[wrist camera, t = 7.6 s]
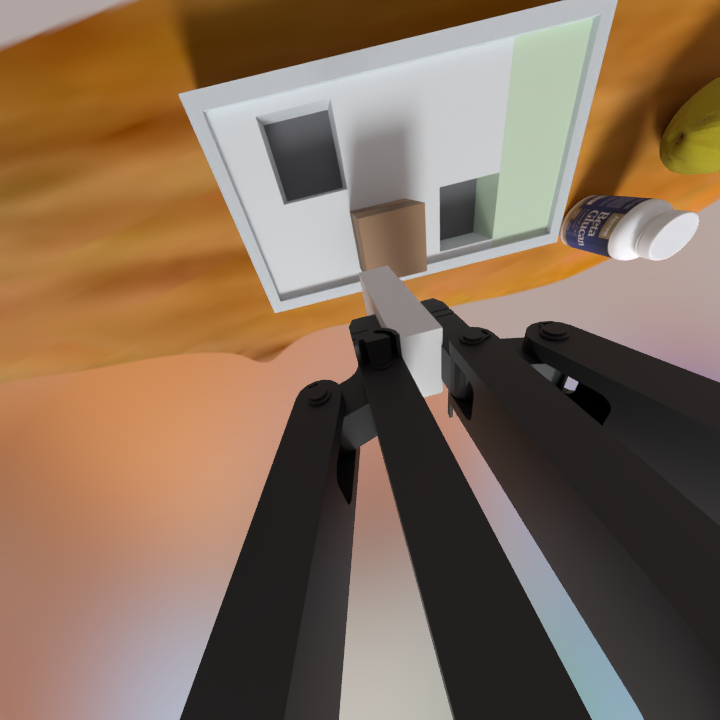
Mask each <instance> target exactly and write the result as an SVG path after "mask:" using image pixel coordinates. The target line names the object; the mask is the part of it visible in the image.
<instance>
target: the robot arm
mask: <svg viewBox="0 0 720 720" xmlns="http://www.w3.org/2000/svg"><path fill="white" fill-rule="evenodd" d="M359 277H360V282H361V287H362V292H363V297H364V302H365V307H366V312H367V316H366V317H362V318H358V319H354V320H352V321H351V324H350V326H349V329H350V333H351V337H352V341H353V345H354V348H355V353H356V357H357V360H358V368H357V371H356V372H355V374H354V375H353V376H352V377H350V378H349V379H348V380H346V381H344V382H342V383H341V384H339V385H338V383H336V382H334V381H331V380H320V381H316V382H314V383H311V384H309V385H307V386H306V387H305V388H304V389H302V390H301V391H300V393H299V395H298V396H297V398H296V401H295V403H294V406H293V409H292V411H291V414H290V417H289V420H288V422H287V425H286V428H285V431H284V434H283V436H282V439H281V442H280V445H279V448H278V450H277V453H276V456H275V458H274V461H273V464H272V467H271V470H270V472H269V475H268V478H267V480H266V483H265V486H264V489H263V491H262V494H261V497H260V500H259V502H258V505H257V508H256V511H255V513H254V517H253V519H252V522H251V525H250V527H249V530H248V533H247V536H246V539H245V541H244V544H243V547H242V549H241V552H240V555H239V558H238V560H237V564H236V566H235V569H234V571H233V574H232V577H231V580H230V582H229V585H228V588H227V591H226V594H225V597H224V599H223V602H222V605H221V607H220V610H219V613H218V616H217V618H216V621H215V624H214V627H213V630H212V632H211V635H210V638H209V640H208V643H207V646H206V649H205V652H204V654H203V657H202V660H201V663H200V665H199V668H198V671H197V674H196V676H195V679H194V682H193V685H192V688H191V690H190V693H189V696H188V698H187V701H186V704H185V707H184V710H183V712H182V715H181V718H180V720H339V710H340V698H341V684H342V672H343V659H344V647H345V634H346V622H347V608H348V596H349V584H350V571H351V559H352V546H353V533H354V521H355V507H356V495H357V482H358V469H359V457H360V446H362V445H363V444H365V443H366V442H368V441H370V440H371V439H373V438H374V437H376V436H378V440H379V444H380V447H381V451H382V455H383V459H384V462H385V466H386V470H387V473H388V477H389V481H390V485H391V488H392V492H393V496H394V500H395V503H396V507H397V511H398V515H399V518H400V522H401V526H402V530H403V533H404V537H405V541H406V545H407V548H408V552H409V556H410V560H411V563H412V567H413V571H414V574H415V578H416V582H417V586H418V589H419V593H420V597H421V601H422V604H423V608H424V612H425V616H426V619H427V623H428V627H429V631H430V634H431V637H432V641H433V645H434V649H435V653H436V656H437V660H438V664H439V668H440V672H441V675H442V679H443V683H444V687H445V690H446V694H447V698H448V702H449V705H450V709H451V712H452V716H453V720H592V719H591V717H590V715H589V713H588V711H587V710H586V707H585V706H584V704H583V702H582V700H581V698H580V696H579V694H578V692H577V690H576V688H575V687H574V684H573V683H572V681H571V679H570V677H569V675H568V673H567V671H566V669H565V667H564V665H563V663H562V662H561V660H560V658H559V656H558V654H557V652H556V650H555V648H554V646H553V644H552V642H551V641H550V639H549V637H548V635H547V633H546V631H545V629H544V627H543V625H542V623H541V622H540V619H539V618H538V616H537V614H536V612H535V610H534V608H533V606H532V604H531V602H530V600H529V598H528V597H527V595H526V593H525V591H524V589H523V587H522V585H521V583H520V582H519V579H518V577H517V575H516V574H515V572H514V570H513V568H512V566H511V564H510V562H509V560H508V559H507V557H506V554H505V553H504V551H503V549H502V547H501V545H500V543H499V541H498V539H497V537H496V535H495V533H494V532H493V530H492V528H491V526H490V524H489V522H488V520H487V518H486V516H485V514H484V512H483V510H482V509H481V507H480V505H479V503H478V501H477V499H476V497H475V495H474V493H473V491H472V489H471V488H470V486H469V484H468V482H467V480H466V478H465V476H464V474H463V472H462V471H461V468H460V467H459V465H458V463H457V461H456V459H455V457H454V455H453V453H452V451H451V449H450V447H449V445H448V444H447V442H446V440H445V438H444V436H443V434H442V432H441V431H440V428H439V426H438V425H437V423H436V421H435V419H434V417H433V415H432V413H431V411H430V409H429V407H428V406H427V404H426V402H425V400H424V398H423V397H426V396H430V395H434V394H438V393H442V392H443V391H442V390H443V386H442V385H443V382H444V383H445V385H446V387H447V388H448V414H449V417H452V416H453V409H454V411H455V412H456V414H457V416H458V417H459V418H460V420H461V422H462V424H463V425H464V427H465V428H466V430H467V432H468V433H469V435H470V437H471V438H472V440H473V441H474V443H475V445H476V446H477V448H478V449H479V451H480V453H481V454H482V456H483V458H484V459H485V461H486V462H487V464H488V466H489V467H490V469H491V470H492V472H493V474H494V475H495V477H496V479H497V480H498V482H499V483H500V485H501V486H502V488H503V490H504V492H505V493H506V495H507V496H508V498H509V500H510V501H511V503H512V504H513V506H514V508H515V509H516V511H517V513H518V514H519V516H520V517H521V519H522V521H523V522H524V524H525V526H526V527H527V529H528V530H529V532H530V534H531V535H532V537H533V538H534V540H535V542H536V543H537V545H538V547H539V548H540V550H541V551H542V553H543V555H544V556H545V558H546V559H547V561H548V563H549V564H550V566H551V568H552V569H553V571H554V572H555V574H556V576H557V577H558V579H559V581H560V582H561V584H562V585H563V587H564V588H565V590H566V592H567V593H568V595H569V596H570V598H571V600H572V602H573V603H574V605H575V606H576V608H577V610H578V611H579V613H580V614H581V616H582V618H583V619H584V621H585V623H586V624H587V626H588V627H589V629H590V631H591V632H592V634H593V636H594V637H595V639H596V640H597V642H598V644H599V645H600V647H601V648H602V650H603V652H604V653H605V655H606V657H607V658H608V660H609V661H610V663H611V665H612V666H613V668H614V670H615V671H616V673H617V674H618V676H619V678H620V679H621V680H622V682H623V684H624V686H625V687H626V689H627V691H628V692H629V694H630V695H631V697H632V699H633V700H634V702H635V704H636V705H637V707H638V709H639V711H640V712H641V714H642V716H643V718H644V720H720V383H719V382H717V381H714V380H711V379H709V378H706V377H704V376H701V375H698V374H696V373H693V372H691V371H688V370H685V369H683V368H680V367H677V366H675V365H672V364H670V363H667V362H665V361H662V360H660V359H657V358H654V357H652V356H649V355H647V354H644V353H641V352H639V351H636V350H634V349H631V348H628V347H626V346H623V345H621V344H618V343H615V342H613V341H610V340H608V339H605V338H602V337H600V336H597V335H595V334H592V333H589V332H587V331H584V330H582V329H579V328H577V327H574V326H571V325H568V324H564V323H561V322H553V321H547V322H546V321H545V322H538V323H534V324H532V325H530V326H529V327H528V328H527V329H526V333H525V337H524V338H508V339H500V338H499V337H497V336H496V335H495V334H494V333H492V332H491V331H489V330H487V329H483V328H479V327H469V326H468V325H467V324H466V323H465V322H464V321H463V320H462V319H461V318H459V317H458V316H457V315H456V314H454V312H453V311H452V310H451V309H449V307H448V306H447V305H446V304H445V303H443V302H442V301H439V300H436V299H433V298H432V299H428V300H424V301H421V302H420V301H419V300H418V299H417V298H416V297H415V296H414V295H413V294H412V292H411V291H410V290H409V289H408V288H407V287H406V286H405V285H404V283H403V282H402V281H401V280H400V279H399V278H398V277H397V276H396V274H395V273H394V272H393V271H392V270H391V269H390V268H389V266H388V265H387V266H383V267H379V268H376V269H372V270H368V271H364V272H360V273H359ZM568 376H569V377H571V378H573V379H574V380H576V381H578V382H579V383H578V385H577V387H576V390H575V391H573V390H572V391H571V390H568V389H566V388H564V385H565V383H566V380H567V378H568Z"/></svg>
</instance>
